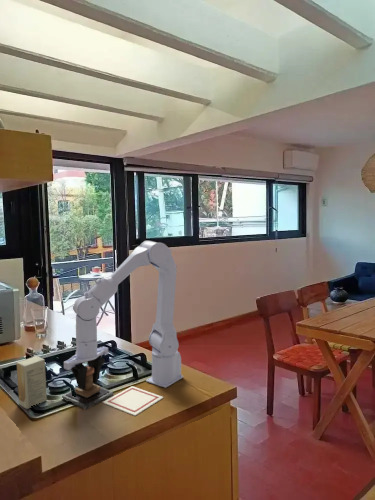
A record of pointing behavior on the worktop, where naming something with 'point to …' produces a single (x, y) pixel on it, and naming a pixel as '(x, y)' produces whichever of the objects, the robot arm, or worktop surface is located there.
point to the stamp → (88, 385)
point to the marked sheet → (133, 400)
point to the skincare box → (31, 381)
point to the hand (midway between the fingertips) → (87, 385)
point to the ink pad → (90, 400)
